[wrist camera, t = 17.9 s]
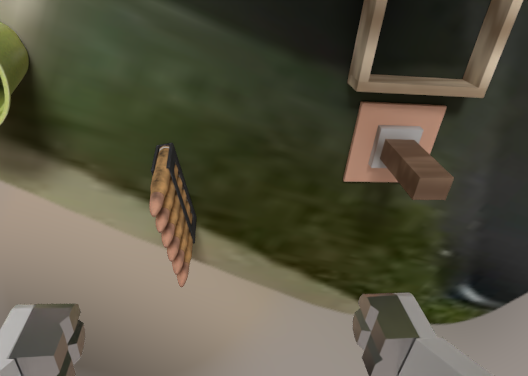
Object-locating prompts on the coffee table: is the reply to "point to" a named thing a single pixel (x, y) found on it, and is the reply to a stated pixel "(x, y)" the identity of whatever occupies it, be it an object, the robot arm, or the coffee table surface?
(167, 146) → the ammunition clip
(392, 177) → the terracotta tile
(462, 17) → the coffee table surface
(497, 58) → the frame
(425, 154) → the wooden post
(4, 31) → the plant pot
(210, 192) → the coffee table surface
